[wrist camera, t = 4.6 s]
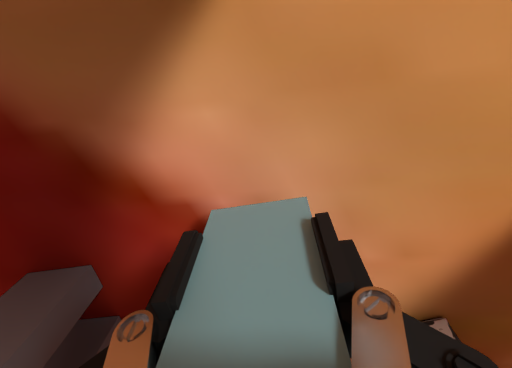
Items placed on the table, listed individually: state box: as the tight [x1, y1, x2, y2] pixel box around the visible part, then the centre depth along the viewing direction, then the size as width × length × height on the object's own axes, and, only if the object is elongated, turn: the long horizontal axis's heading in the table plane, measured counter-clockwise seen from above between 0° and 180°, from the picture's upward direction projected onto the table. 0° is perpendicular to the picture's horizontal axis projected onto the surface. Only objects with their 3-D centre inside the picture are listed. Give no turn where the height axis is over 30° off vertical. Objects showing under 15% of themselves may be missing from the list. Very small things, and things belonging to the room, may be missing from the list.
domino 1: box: [0, 265, 103, 368], centre depth 15 cm, size 2×5×10 cm, turn 101°
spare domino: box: [156, 197, 351, 368], centre depth 10 cm, size 2×5×10 cm, turn 101°
